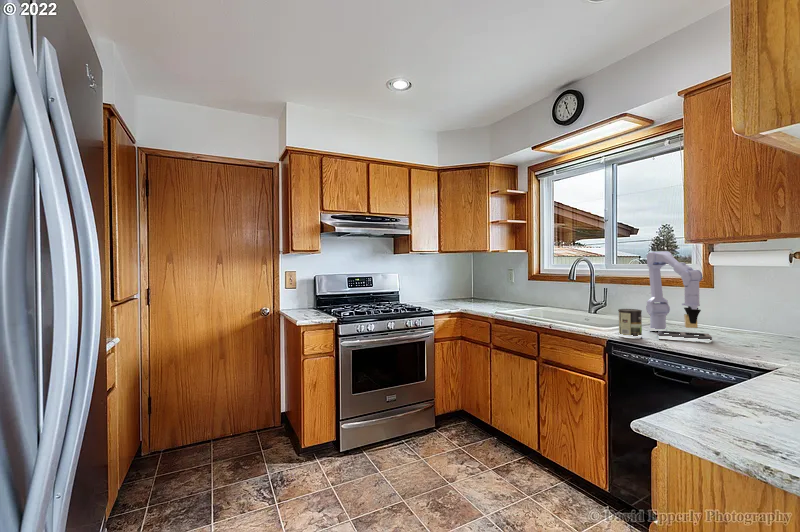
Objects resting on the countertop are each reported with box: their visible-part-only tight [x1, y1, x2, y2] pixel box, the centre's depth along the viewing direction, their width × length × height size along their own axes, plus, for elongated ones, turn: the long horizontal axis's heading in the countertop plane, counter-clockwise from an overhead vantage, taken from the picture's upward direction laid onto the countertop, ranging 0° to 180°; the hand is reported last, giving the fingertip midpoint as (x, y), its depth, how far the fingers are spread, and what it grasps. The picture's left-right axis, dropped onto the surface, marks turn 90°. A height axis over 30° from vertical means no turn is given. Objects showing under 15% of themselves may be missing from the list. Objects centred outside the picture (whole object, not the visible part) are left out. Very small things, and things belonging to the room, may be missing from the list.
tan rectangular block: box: [683, 313, 699, 329], centre depth 187 cm, size 4×4×6 cm
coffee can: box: [618, 308, 643, 336], centre depth 196 cm, size 10×10×14 cm
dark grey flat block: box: [657, 330, 713, 341], centre depth 189 cm, size 10×20×3 cm, turn 59°
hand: (692, 322), depth 187 cm, fingers closed on tan rectangular block, 4 cm apart
